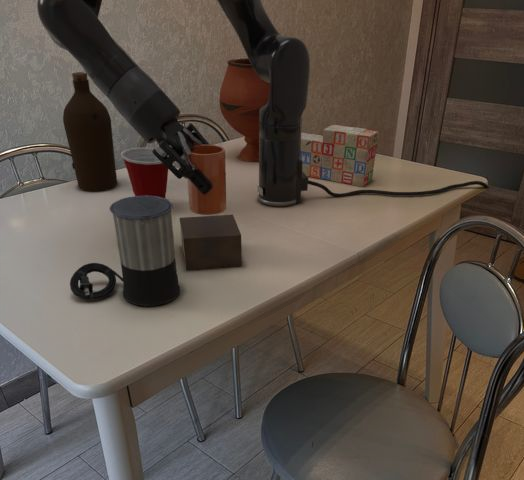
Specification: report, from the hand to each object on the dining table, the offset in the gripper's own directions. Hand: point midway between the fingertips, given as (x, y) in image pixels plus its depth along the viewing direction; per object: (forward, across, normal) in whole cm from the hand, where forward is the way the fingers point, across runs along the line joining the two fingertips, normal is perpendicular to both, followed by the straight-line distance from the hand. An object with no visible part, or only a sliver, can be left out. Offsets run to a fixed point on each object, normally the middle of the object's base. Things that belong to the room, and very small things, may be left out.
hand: (215, 184), depth 91 cm
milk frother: (+3, -17, +17) cm, 24 cm away
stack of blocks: (+19, +55, 0) cm, 58 cm away
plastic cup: (-6, +21, +26) cm, 34 cm away
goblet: (+2, +67, +17) cm, 70 cm away
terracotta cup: (+2, 0, +4) cm, 5 cm away
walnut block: (+9, 0, +11) cm, 14 cm away
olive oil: (-20, +32, +39) cm, 55 cm away
